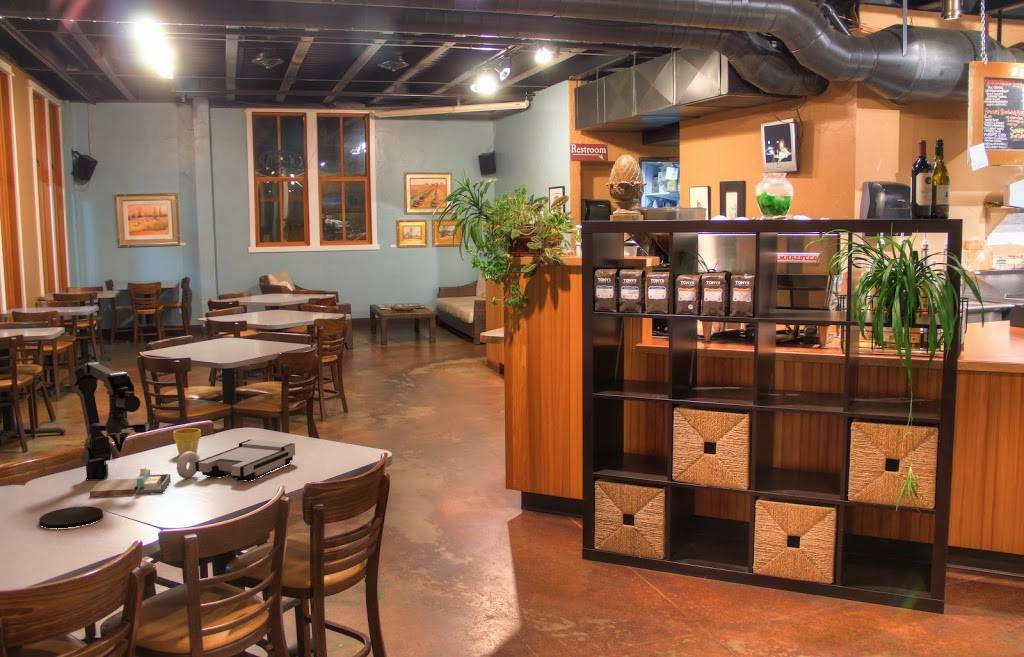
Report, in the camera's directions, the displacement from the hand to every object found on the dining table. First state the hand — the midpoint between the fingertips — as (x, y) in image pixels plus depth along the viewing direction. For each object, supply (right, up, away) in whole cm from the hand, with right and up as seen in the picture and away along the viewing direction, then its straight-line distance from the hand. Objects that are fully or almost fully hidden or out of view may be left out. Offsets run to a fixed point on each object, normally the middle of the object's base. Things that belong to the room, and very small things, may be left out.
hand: (120, 451), depth 315 cm
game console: (+38, -11, +21) cm, 45 cm away
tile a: (+12, -13, -3) cm, 18 cm away
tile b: (+11, -12, +2) cm, 17 cm away
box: (+12, -13, 0) cm, 17 cm away
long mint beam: (+9, -11, -1) cm, 14 cm away
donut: (+19, -12, +13) cm, 26 cm away
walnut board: (0, -13, -2) cm, 13 cm away
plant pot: (+7, -8, +48) cm, 49 cm away
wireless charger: (0, -17, -35) cm, 39 cm away
